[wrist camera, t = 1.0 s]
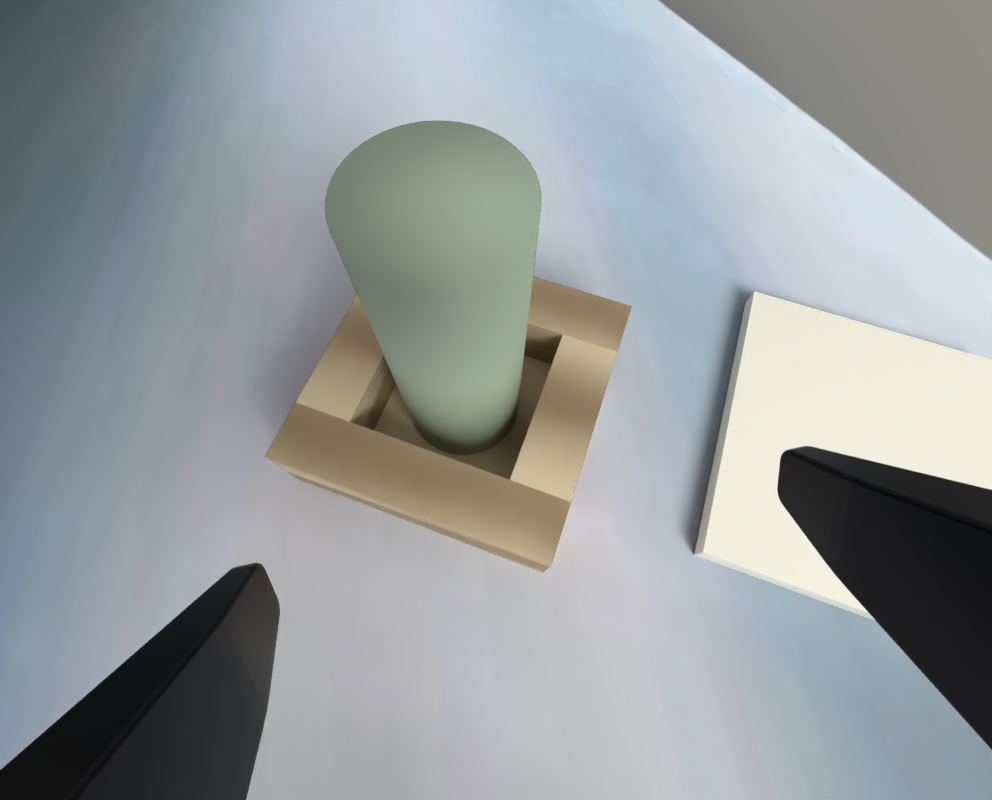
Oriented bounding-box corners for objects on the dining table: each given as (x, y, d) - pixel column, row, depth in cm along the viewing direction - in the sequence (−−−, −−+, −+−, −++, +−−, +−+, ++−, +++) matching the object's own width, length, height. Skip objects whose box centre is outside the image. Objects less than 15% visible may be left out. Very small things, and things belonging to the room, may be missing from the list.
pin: (496, 470, 23) (497, 313, 11) (392, 433, 23) (284, 246, 11) (532, 374, 24) (568, 149, 13) (435, 342, 25) (382, 101, 13)
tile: (987, 661, 20) (1011, 664, 19) (694, 554, 22) (702, 552, 21) (981, 371, 25) (1000, 362, 24) (745, 302, 27) (754, 291, 26)
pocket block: (542, 572, 21) (551, 566, 18) (296, 477, 23) (264, 456, 20) (614, 344, 26) (631, 306, 23) (404, 278, 27) (391, 234, 24)
